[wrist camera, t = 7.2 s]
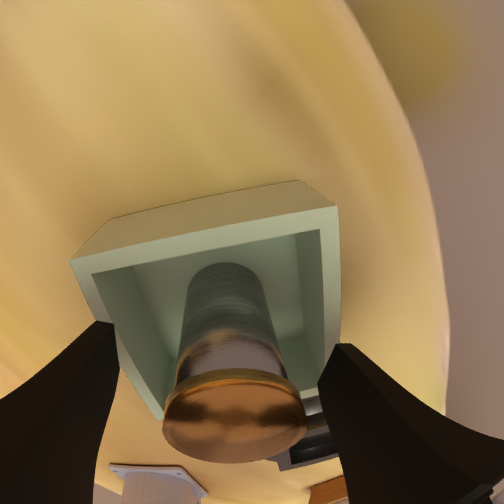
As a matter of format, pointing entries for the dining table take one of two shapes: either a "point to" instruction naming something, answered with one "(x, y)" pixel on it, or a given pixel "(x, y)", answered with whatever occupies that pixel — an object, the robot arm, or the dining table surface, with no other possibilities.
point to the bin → (210, 252)
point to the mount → (309, 440)
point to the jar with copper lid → (231, 374)
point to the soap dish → (330, 492)
